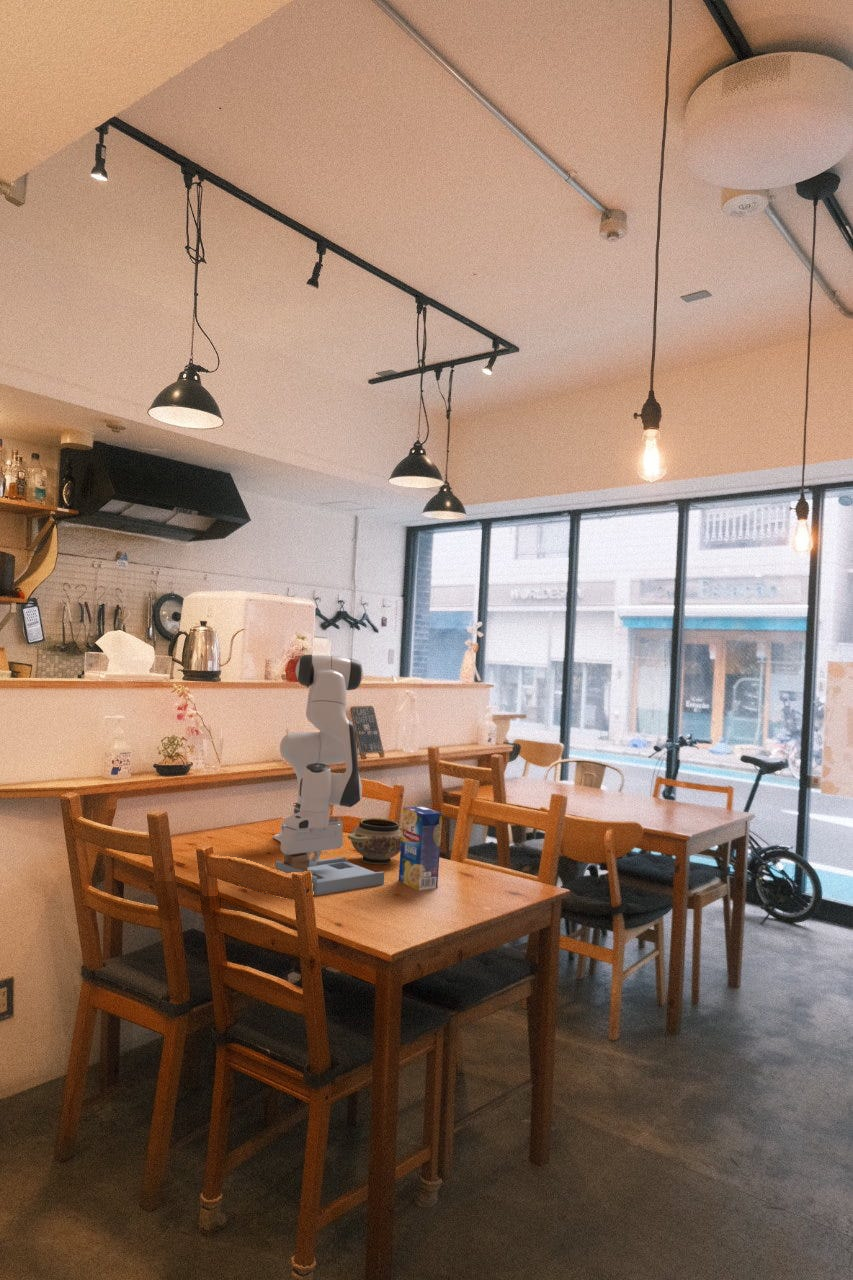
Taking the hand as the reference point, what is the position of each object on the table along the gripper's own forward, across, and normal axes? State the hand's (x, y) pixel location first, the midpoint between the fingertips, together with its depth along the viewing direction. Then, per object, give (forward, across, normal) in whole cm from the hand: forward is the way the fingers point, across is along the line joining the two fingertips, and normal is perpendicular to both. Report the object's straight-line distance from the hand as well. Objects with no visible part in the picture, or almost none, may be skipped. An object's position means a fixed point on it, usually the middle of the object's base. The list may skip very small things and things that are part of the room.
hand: (311, 866), depth 245 cm
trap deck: (+4, -4, +5) cm, 7 cm away
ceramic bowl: (+4, -31, -7) cm, 32 cm away
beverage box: (+4, -25, +20) cm, 32 cm away
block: (+1, +5, -1) cm, 5 cm away
